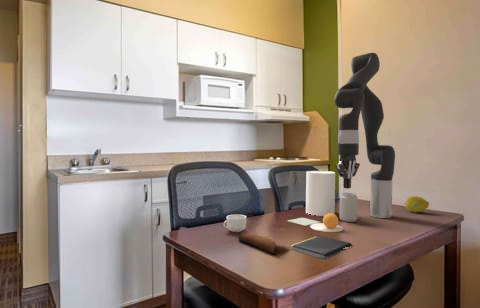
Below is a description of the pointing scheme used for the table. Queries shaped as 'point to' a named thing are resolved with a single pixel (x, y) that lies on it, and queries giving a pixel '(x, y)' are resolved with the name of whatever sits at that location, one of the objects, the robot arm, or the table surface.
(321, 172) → the canister
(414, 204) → the lemon
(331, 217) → the ball
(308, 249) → the wallet
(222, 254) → the table surface
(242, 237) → the sunglasses case
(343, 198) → the can
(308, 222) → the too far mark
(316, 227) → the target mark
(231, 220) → the teacup
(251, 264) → the table surface
